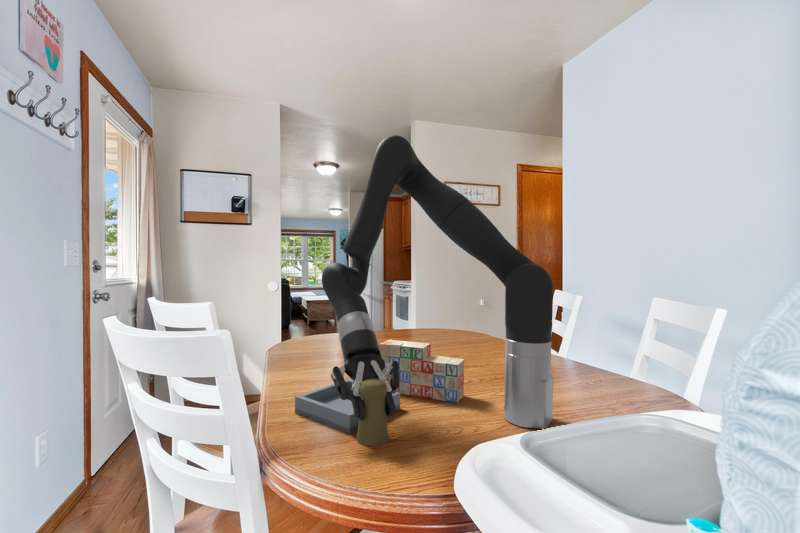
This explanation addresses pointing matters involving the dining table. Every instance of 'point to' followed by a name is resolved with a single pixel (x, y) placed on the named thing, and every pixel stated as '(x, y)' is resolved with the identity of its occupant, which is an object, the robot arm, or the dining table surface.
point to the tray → (332, 407)
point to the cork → (373, 413)
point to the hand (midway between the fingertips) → (376, 415)
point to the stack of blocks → (424, 371)
